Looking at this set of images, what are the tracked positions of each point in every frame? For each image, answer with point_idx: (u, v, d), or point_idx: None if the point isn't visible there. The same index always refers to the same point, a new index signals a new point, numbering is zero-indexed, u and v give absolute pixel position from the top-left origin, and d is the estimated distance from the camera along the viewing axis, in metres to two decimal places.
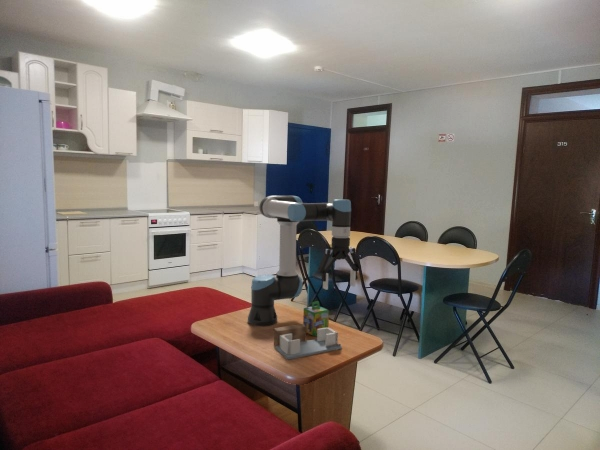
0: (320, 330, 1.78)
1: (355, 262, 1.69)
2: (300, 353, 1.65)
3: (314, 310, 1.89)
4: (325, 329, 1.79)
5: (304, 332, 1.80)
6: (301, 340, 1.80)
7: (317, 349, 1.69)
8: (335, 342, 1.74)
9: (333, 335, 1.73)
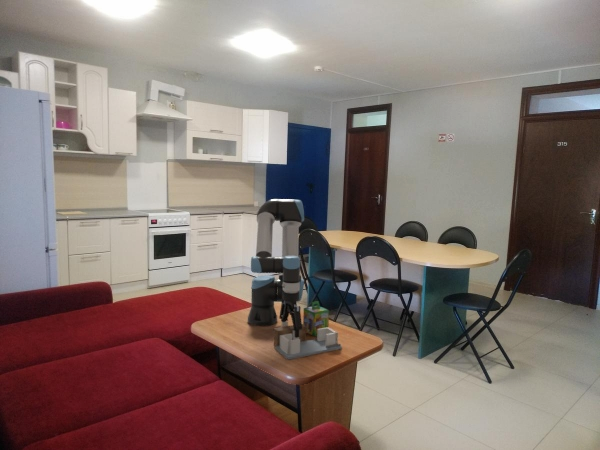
0: (320, 330, 1.78)
1: None
2: (300, 353, 1.65)
3: (314, 310, 1.89)
4: (325, 329, 1.79)
5: (304, 332, 1.80)
6: (301, 340, 1.80)
7: (317, 349, 1.69)
8: (335, 342, 1.74)
9: (333, 335, 1.73)
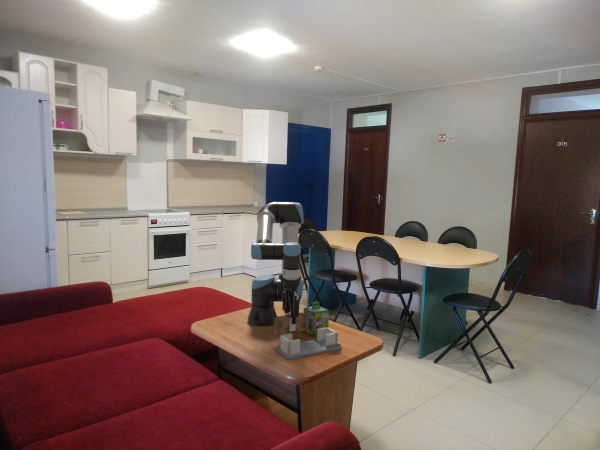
0: (320, 330, 1.78)
1: None
2: (300, 353, 1.65)
3: (314, 310, 1.89)
4: (325, 329, 1.79)
5: (304, 321, 1.80)
6: (301, 329, 1.80)
7: (317, 349, 1.69)
8: (335, 342, 1.74)
9: (333, 335, 1.73)
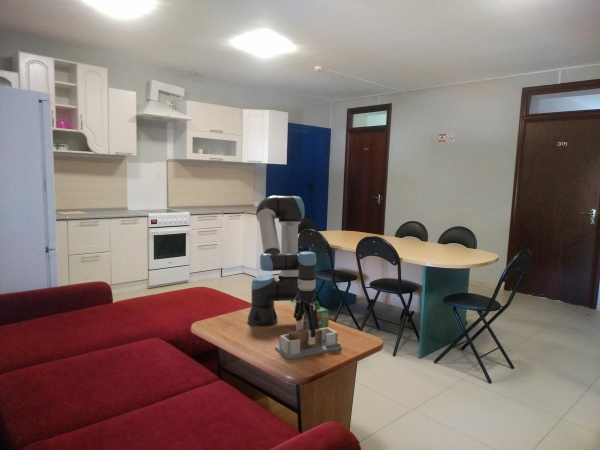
0: None
1: None
2: (300, 353, 1.65)
3: None
4: (325, 329, 1.79)
5: (320, 336, 1.72)
6: (317, 344, 1.72)
7: (317, 349, 1.69)
8: (335, 342, 1.74)
9: (333, 335, 1.73)
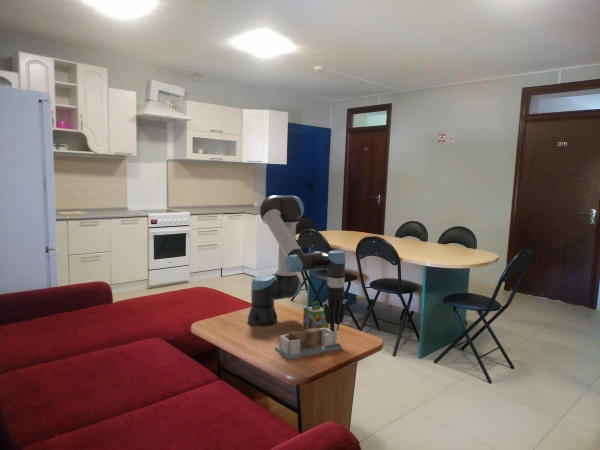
0: None
1: (341, 313, 1.78)
2: (300, 353, 1.65)
3: (314, 310, 1.89)
4: (323, 329, 1.79)
5: (320, 336, 1.72)
6: (317, 344, 1.72)
7: (317, 349, 1.69)
8: (333, 342, 1.73)
9: (331, 335, 1.73)
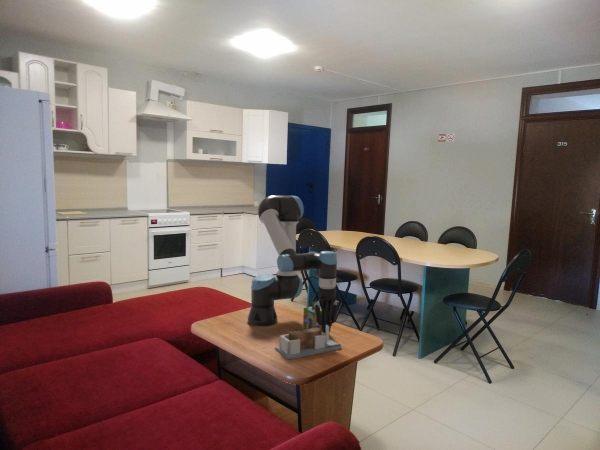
0: None
1: (333, 314, 1.76)
2: (300, 353, 1.65)
3: (314, 310, 1.89)
4: None
5: None
6: None
7: (317, 349, 1.69)
8: (324, 344, 1.71)
9: (322, 337, 1.70)
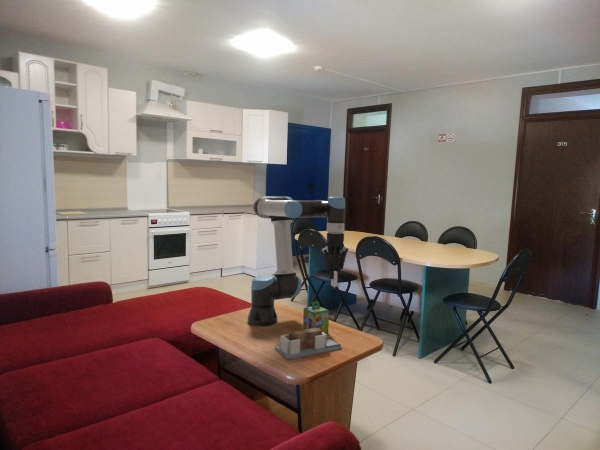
0: None
1: (341, 261, 1.76)
2: (300, 353, 1.65)
3: (314, 310, 1.89)
4: None
5: None
6: None
7: (317, 349, 1.69)
8: (324, 344, 1.71)
9: (322, 337, 1.70)
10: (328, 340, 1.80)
